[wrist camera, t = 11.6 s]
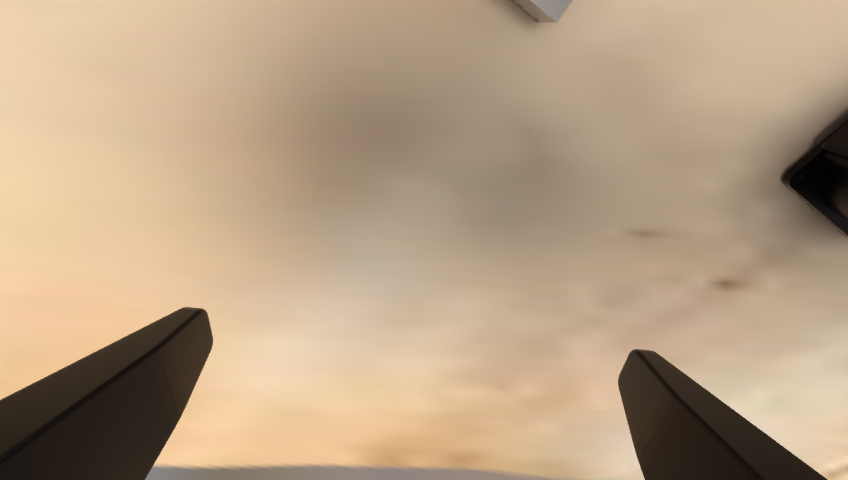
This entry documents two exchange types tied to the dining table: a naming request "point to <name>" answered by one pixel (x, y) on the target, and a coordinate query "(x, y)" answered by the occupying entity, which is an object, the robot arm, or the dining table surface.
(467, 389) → the dining table surface
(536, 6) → the tray
